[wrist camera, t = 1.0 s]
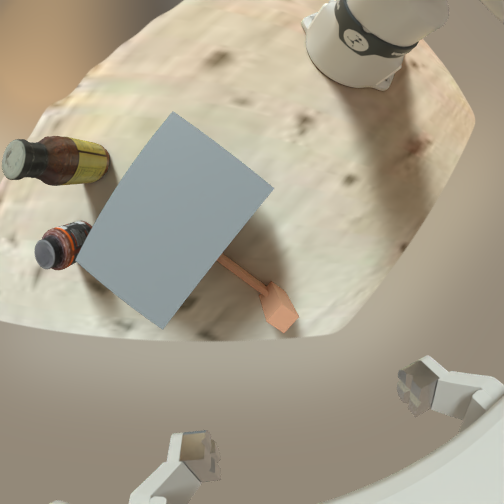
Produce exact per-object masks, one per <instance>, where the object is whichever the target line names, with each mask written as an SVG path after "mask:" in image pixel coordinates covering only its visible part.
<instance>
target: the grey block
mask: <svg viewBox="0 0 504 504" xmlns="http://www.w3.org/2000/svg"><path fill="white" fill-rule="evenodd" d="M273 189H274V188H273V187H272V186H271V185H270V184H268V183H267V182H266V181H265V180H263V179H262V178H261V177H260V176H258V175H257V174H256V173H255V172H253V171H252V170H251V169H250V168H248V167H247V166H246V165H245V164H243V163H242V162H241V161H240V160H238V159H237V158H236V157H234V156H233V155H232V154H231V153H229V152H228V151H227V150H225V149H224V148H223V147H221V146H220V145H219V144H217V143H216V142H215V141H213V140H212V139H211V138H209V137H208V136H207V135H205V134H204V133H203V132H201V131H200V130H199V129H197V128H196V127H194V126H193V125H192V124H190V123H189V122H187V121H186V120H185V119H183V118H182V117H180V116H179V115H178V114H176V113H175V112H172V113H171V114H170V115H169V117H168V118H167V119H166V120H165V121H164V123H163V124H162V125H161V126H160V128H159V129H158V130H157V131H156V133H155V134H154V135H153V136H152V138H151V139H150V140H149V142H148V143H147V144H146V146H145V147H144V148H143V150H142V151H141V152H140V154H139V155H138V156H137V158H136V159H135V161H134V162H133V163H132V165H131V166H130V168H129V169H128V171H127V172H126V173H125V175H124V176H123V178H122V179H121V181H120V182H119V184H118V186H117V187H116V189H115V190H114V192H113V193H112V195H111V197H110V198H109V200H108V201H107V203H106V205H105V206H104V208H103V210H102V211H101V213H100V215H99V216H98V218H97V220H96V222H95V223H94V225H93V227H92V229H91V231H90V232H89V234H88V236H87V238H86V240H85V242H84V244H83V246H82V248H81V250H80V252H79V254H78V256H77V258H76V260H75V261H76V262H77V263H79V264H80V265H81V266H82V267H83V268H84V269H85V270H86V271H88V272H89V273H90V274H91V275H92V276H93V277H95V278H96V279H97V280H98V281H99V282H101V283H102V284H103V285H104V286H105V287H107V288H108V289H109V290H110V291H112V292H113V293H114V294H115V295H117V296H118V297H119V298H120V299H122V300H123V301H124V302H126V303H127V304H128V305H129V306H131V307H132V308H133V309H135V310H136V311H137V312H139V313H140V314H142V315H143V316H144V317H146V318H147V319H148V320H150V321H151V322H153V323H154V324H155V325H157V326H158V327H160V328H161V329H164V327H165V326H166V325H167V324H168V322H169V321H170V320H171V318H172V317H173V316H174V314H175V313H176V312H177V310H178V309H179V308H180V306H181V305H182V304H183V303H184V301H185V300H186V299H187V297H188V296H189V295H190V293H191V292H192V291H193V290H194V288H195V287H196V286H197V284H198V283H199V282H200V281H201V279H202V278H203V277H204V275H205V274H206V273H207V272H208V270H209V269H210V268H211V267H212V265H213V264H214V263H215V261H216V260H217V259H218V258H219V256H220V255H221V254H222V253H223V251H224V250H225V249H226V248H227V246H228V245H229V244H230V243H231V241H232V240H233V239H234V238H235V236H236V235H237V234H238V233H239V231H240V230H241V229H242V228H243V226H244V225H245V224H246V223H247V221H248V220H249V219H250V218H251V216H252V215H253V214H254V213H255V211H256V210H257V209H258V208H259V207H260V205H261V204H262V203H263V202H264V200H265V199H266V198H267V197H268V196H269V194H270V193H271V192H272V191H273Z"/></svg>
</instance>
